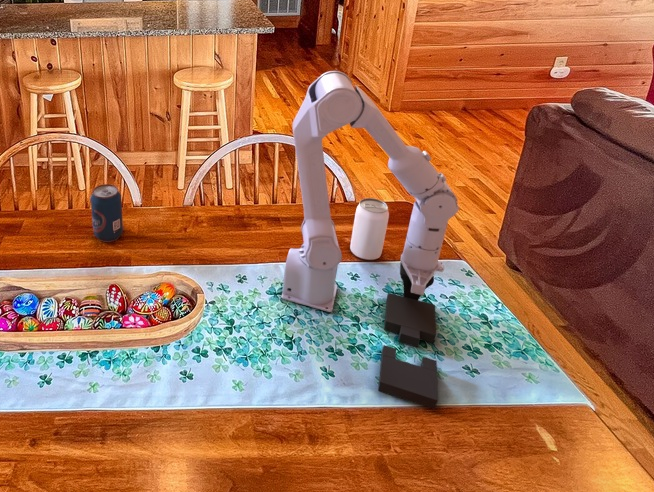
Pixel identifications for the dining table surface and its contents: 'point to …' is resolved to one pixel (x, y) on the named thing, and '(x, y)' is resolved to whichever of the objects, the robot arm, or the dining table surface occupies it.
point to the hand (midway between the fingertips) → (410, 299)
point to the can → (369, 229)
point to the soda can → (107, 212)
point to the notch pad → (408, 379)
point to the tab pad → (410, 319)
